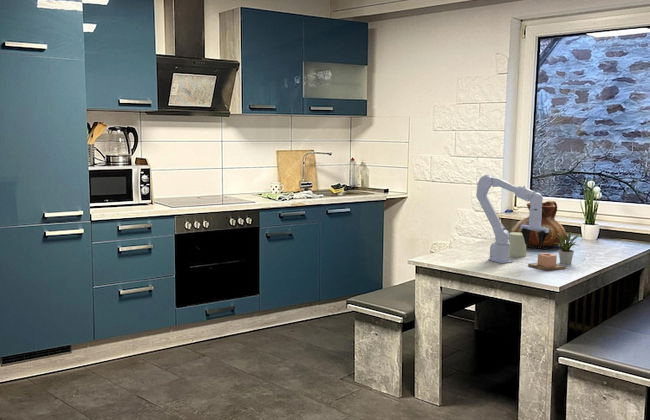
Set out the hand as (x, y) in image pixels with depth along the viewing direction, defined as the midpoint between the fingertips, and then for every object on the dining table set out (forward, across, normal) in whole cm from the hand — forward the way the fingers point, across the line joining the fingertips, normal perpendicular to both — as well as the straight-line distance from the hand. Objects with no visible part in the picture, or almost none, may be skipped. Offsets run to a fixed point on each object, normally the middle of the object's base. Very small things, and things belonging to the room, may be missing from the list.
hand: (533, 245), depth 322 cm
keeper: (+9, +9, -2) cm, 13 cm away
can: (+10, -17, +12) cm, 23 cm away
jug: (+10, -26, +45) cm, 53 cm away
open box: (+8, +9, -2) cm, 12 cm away
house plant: (+9, +10, +14) cm, 20 cm away
